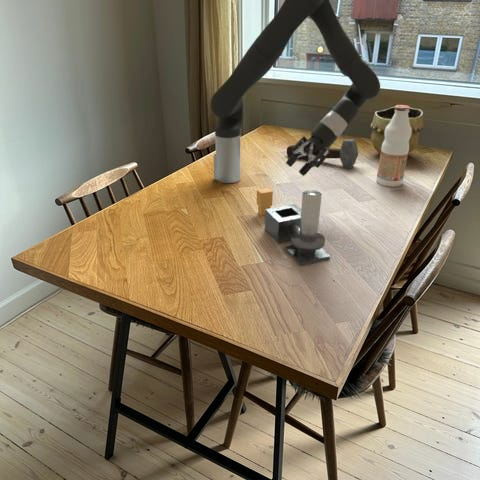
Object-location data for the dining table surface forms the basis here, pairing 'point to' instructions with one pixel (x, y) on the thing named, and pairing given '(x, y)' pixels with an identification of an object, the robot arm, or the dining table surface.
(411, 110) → the clay pot
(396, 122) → the fruit juice
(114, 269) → the dining table surface
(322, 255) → the bracket post
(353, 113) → the robot arm
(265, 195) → the orange block
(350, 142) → the hammer
